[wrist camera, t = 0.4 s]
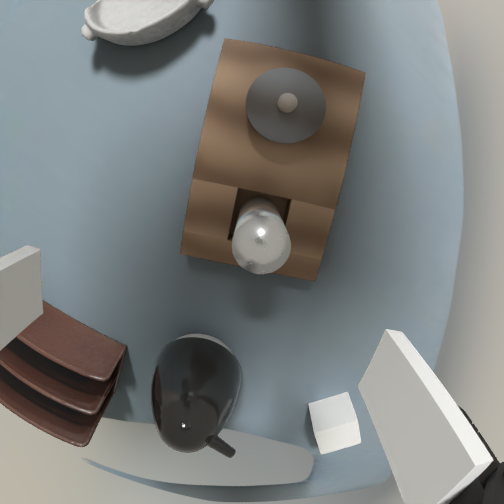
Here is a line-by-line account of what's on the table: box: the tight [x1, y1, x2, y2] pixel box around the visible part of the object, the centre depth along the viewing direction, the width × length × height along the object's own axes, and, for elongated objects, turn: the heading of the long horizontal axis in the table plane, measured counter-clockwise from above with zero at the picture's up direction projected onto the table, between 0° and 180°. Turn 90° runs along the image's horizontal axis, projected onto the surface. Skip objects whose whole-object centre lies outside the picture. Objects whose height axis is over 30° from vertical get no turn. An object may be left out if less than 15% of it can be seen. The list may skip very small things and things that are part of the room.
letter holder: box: [0, 300, 127, 447], centre depth 31 cm, size 10×20×14 cm, turn 65°
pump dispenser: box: [151, 334, 241, 458], centre depth 31 cm, size 10×10×15 cm
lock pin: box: [232, 196, 291, 274], centre depth 27 cm, size 4×4×12 cm
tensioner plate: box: [180, 39, 365, 281], centre depth 28 cm, size 22×14×6 cm, turn 168°
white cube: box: [308, 392, 361, 454], centre depth 38 cm, size 6×6×6 cm
